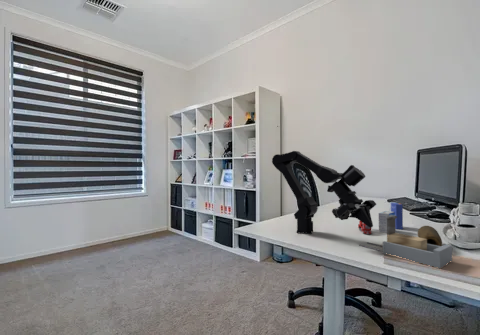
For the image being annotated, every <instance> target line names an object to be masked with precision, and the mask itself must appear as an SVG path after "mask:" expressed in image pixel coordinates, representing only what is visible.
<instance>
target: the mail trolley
mask: <svg viewBox="0 0 480 335" xmlns="http://www.w3.org/2000/svg"><path fill="white" fill-rule="evenodd" d="M396 218H397V216H391V217H387V218H386V219H387V233H386V242H390V243H395V244H399V245H403V246H408V247H412V248H416V249H421V250H425V251H427V239H424V238H419V237H418V236H412V235H408V234H404V233H398V232H396V230H397V229H396Z"/></svg>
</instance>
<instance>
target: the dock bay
mask: <svg viewBox="0 0 480 335" xmlns="http://www.w3.org/2000/svg"><path fill="white" fill-rule="evenodd" d="M366 243H367V244H369V245H373V246H376V247H381V248H382V249H378V248H375V247H370V246H366V245H364V244H359V246H360V247H362V248H363V247H364V248H367V249H371V250H375V251H379V252H382V254H383V255H386V253H387V254H391V255H396V256H399V257H402V258H406V259H409V260H412V261H415V262H414V263H416V262H419V263H418V264H420V263H423V264H427V265H430V266H429V267H431V266H434V267H438V268H441V267H442V268H444V267H445V266H444V265H446V264H447V263H449V262H450V261H452V262H453V245H452V244H447V243H446V244H442V246H437V245H432V244H427V251H425V250H421V249H416V248H412V247H408V246H403V245H399V244H395V243H390V242H387V240H386V241H385V240H384V241H382V245H380V244H377V243H373V242H369V241H368V242H366ZM412 261H411V262H412ZM423 264H422V265H423ZM449 264H450V263H449ZM427 265H426V266H427ZM447 265H448V264H447ZM447 265H446V266H447ZM443 266H444V267H443ZM434 267H433V268H434ZM438 268H437V269H438ZM442 268H441V269H442Z"/></svg>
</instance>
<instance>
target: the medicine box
mask: <svg viewBox="0 0 480 335" xmlns="http://www.w3.org/2000/svg"><path fill="white" fill-rule="evenodd" d="M391 216H395V212H391V211H389V210H385V211H382V212H378V232H379V233H385V234H387V219H386V218H387V217H391Z"/></svg>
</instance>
